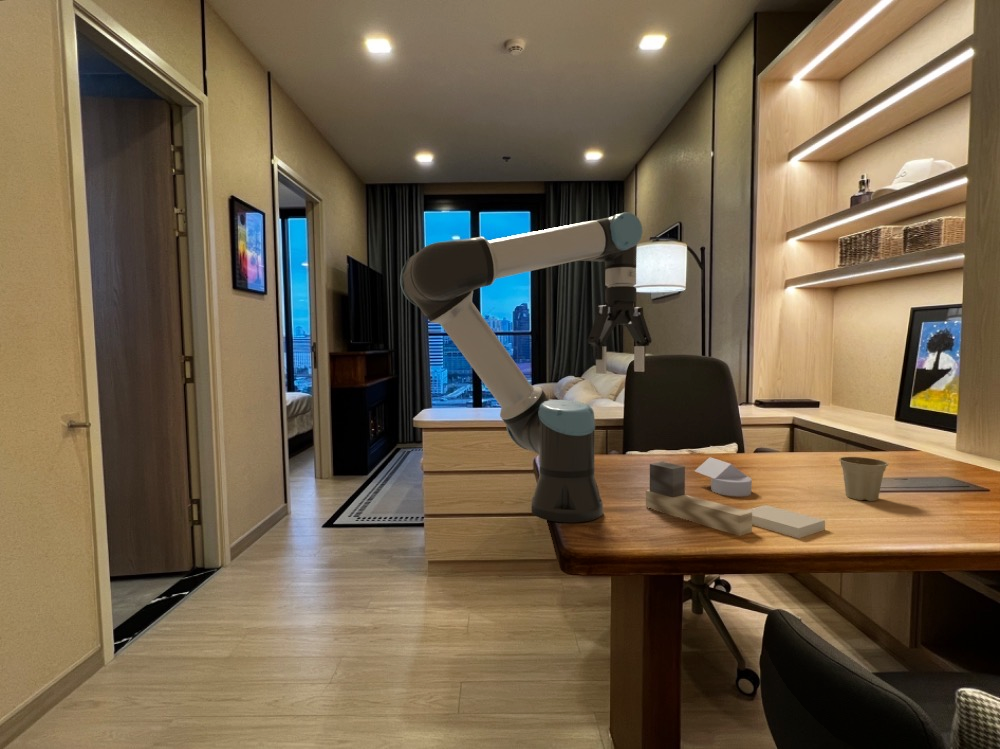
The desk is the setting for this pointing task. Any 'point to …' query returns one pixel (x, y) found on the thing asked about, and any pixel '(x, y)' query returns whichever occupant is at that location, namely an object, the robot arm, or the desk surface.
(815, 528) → the tile
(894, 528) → the desk surface
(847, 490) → the flower pot
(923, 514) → the desk surface
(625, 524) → the desk surface
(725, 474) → the wedge on round base
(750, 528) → the bar
